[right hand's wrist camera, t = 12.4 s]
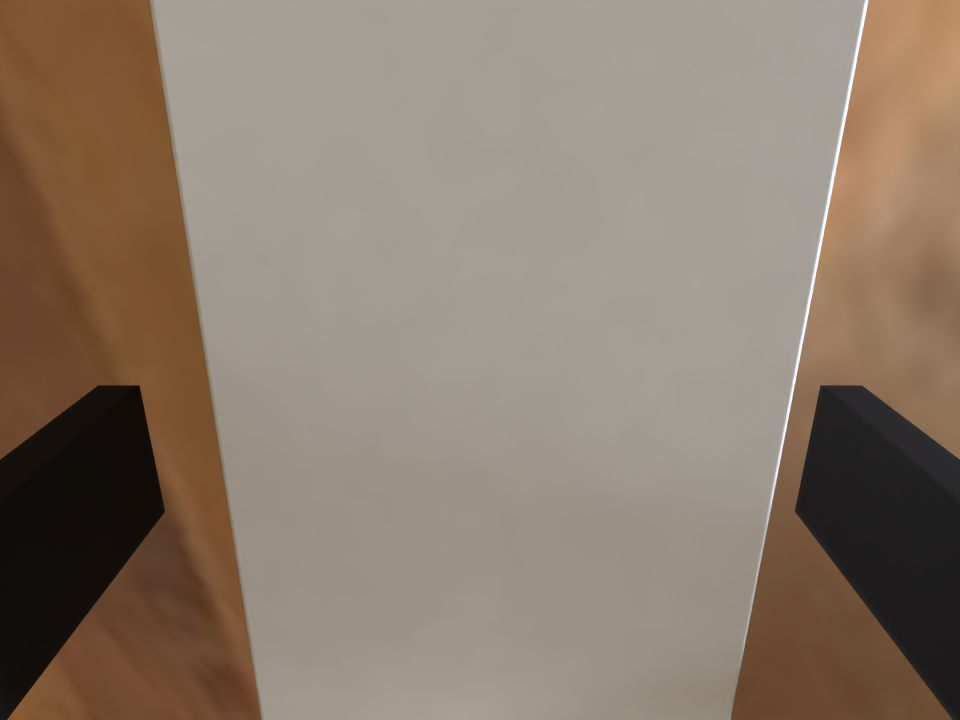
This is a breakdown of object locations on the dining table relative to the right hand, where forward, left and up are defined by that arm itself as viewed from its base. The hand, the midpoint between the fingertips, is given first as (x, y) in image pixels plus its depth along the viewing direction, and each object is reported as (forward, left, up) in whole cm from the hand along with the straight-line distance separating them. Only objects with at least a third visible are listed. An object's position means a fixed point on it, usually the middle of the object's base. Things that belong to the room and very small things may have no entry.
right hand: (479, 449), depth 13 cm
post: (+3, -27, -3) cm, 27 cm away
